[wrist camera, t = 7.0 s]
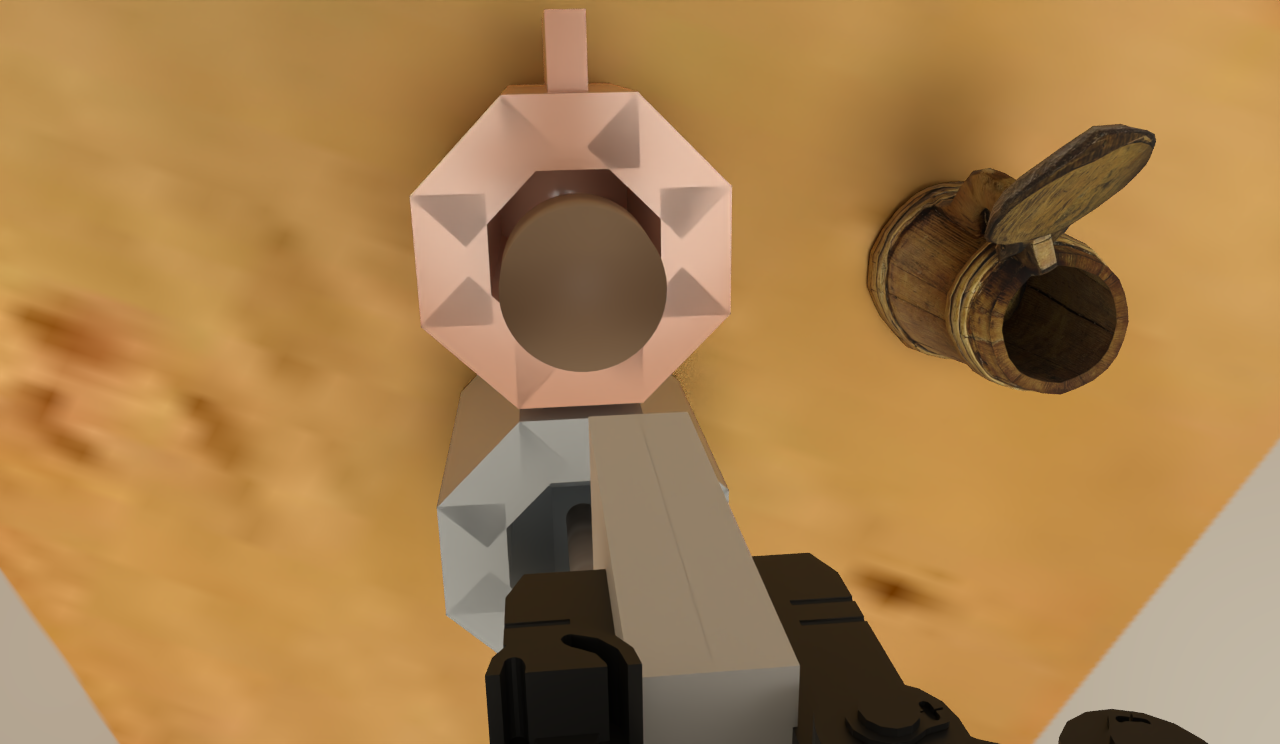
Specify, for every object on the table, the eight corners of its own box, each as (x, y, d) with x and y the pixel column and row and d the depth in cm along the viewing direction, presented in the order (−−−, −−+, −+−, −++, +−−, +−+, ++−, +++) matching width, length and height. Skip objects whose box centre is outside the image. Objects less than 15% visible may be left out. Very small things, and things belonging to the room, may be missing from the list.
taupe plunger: (506, 157, 44) (493, 209, 28) (619, 154, 44) (666, 204, 29) (513, 268, 45) (503, 375, 30) (622, 264, 46) (667, 368, 30)
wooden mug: (984, 65, 48) (1236, 69, 31) (1054, 313, 52) (1308, 436, 35) (815, 139, 48) (971, 183, 31) (898, 379, 52) (1075, 534, 35)
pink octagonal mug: (434, 24, 45) (392, 9, 31) (675, 20, 46) (734, 4, 32) (456, 317, 49) (428, 413, 36) (677, 308, 50) (730, 398, 37)
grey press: (457, 326, 49) (429, 426, 36) (677, 317, 50) (729, 410, 37) (475, 573, 53) (457, 744, 40) (678, 559, 54) (726, 721, 41)
